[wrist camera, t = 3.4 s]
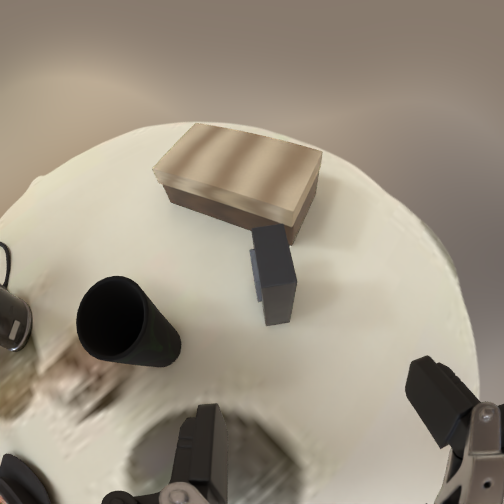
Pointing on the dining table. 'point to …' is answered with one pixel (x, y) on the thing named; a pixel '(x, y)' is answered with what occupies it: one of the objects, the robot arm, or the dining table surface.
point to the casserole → (20, 483)
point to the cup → (125, 325)
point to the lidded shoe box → (241, 177)
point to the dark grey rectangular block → (273, 273)
